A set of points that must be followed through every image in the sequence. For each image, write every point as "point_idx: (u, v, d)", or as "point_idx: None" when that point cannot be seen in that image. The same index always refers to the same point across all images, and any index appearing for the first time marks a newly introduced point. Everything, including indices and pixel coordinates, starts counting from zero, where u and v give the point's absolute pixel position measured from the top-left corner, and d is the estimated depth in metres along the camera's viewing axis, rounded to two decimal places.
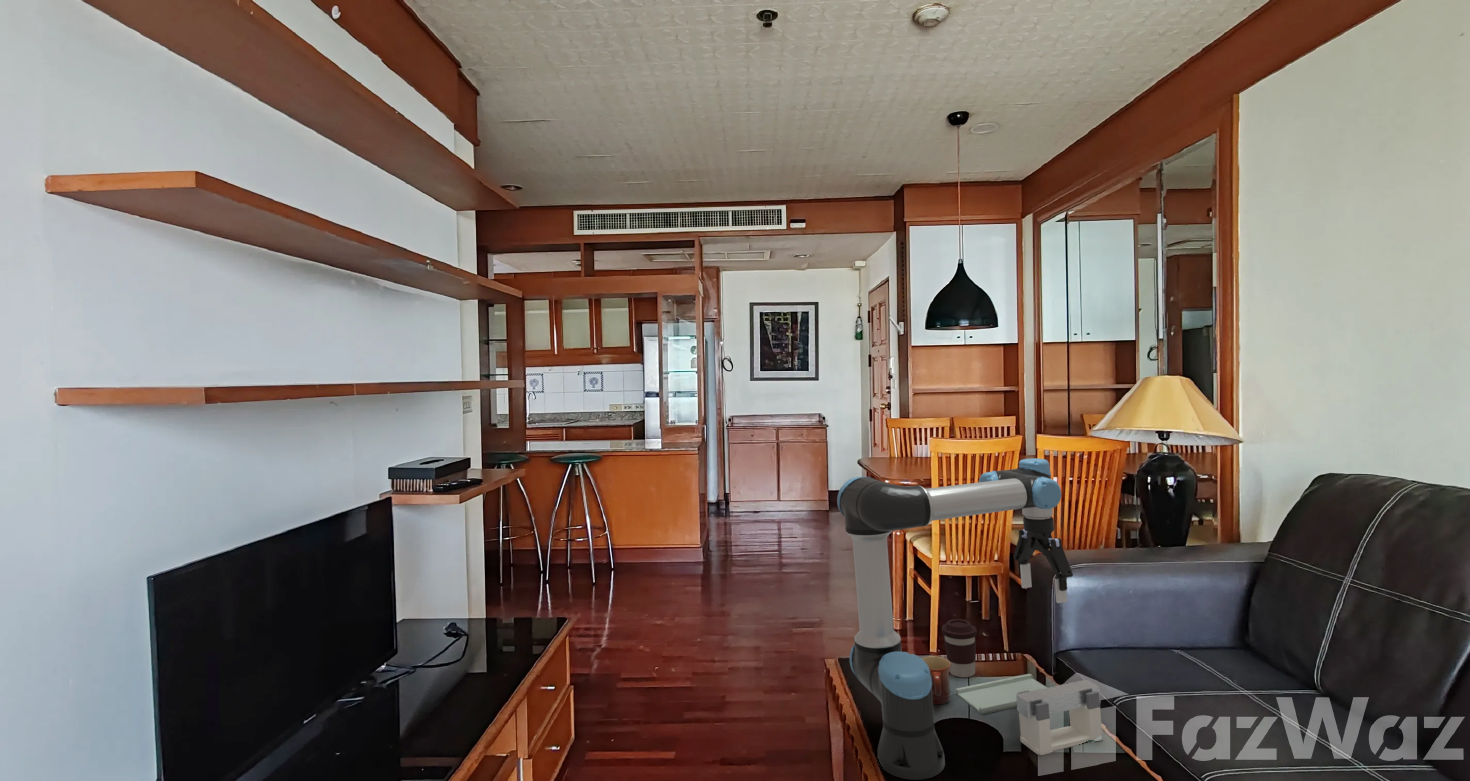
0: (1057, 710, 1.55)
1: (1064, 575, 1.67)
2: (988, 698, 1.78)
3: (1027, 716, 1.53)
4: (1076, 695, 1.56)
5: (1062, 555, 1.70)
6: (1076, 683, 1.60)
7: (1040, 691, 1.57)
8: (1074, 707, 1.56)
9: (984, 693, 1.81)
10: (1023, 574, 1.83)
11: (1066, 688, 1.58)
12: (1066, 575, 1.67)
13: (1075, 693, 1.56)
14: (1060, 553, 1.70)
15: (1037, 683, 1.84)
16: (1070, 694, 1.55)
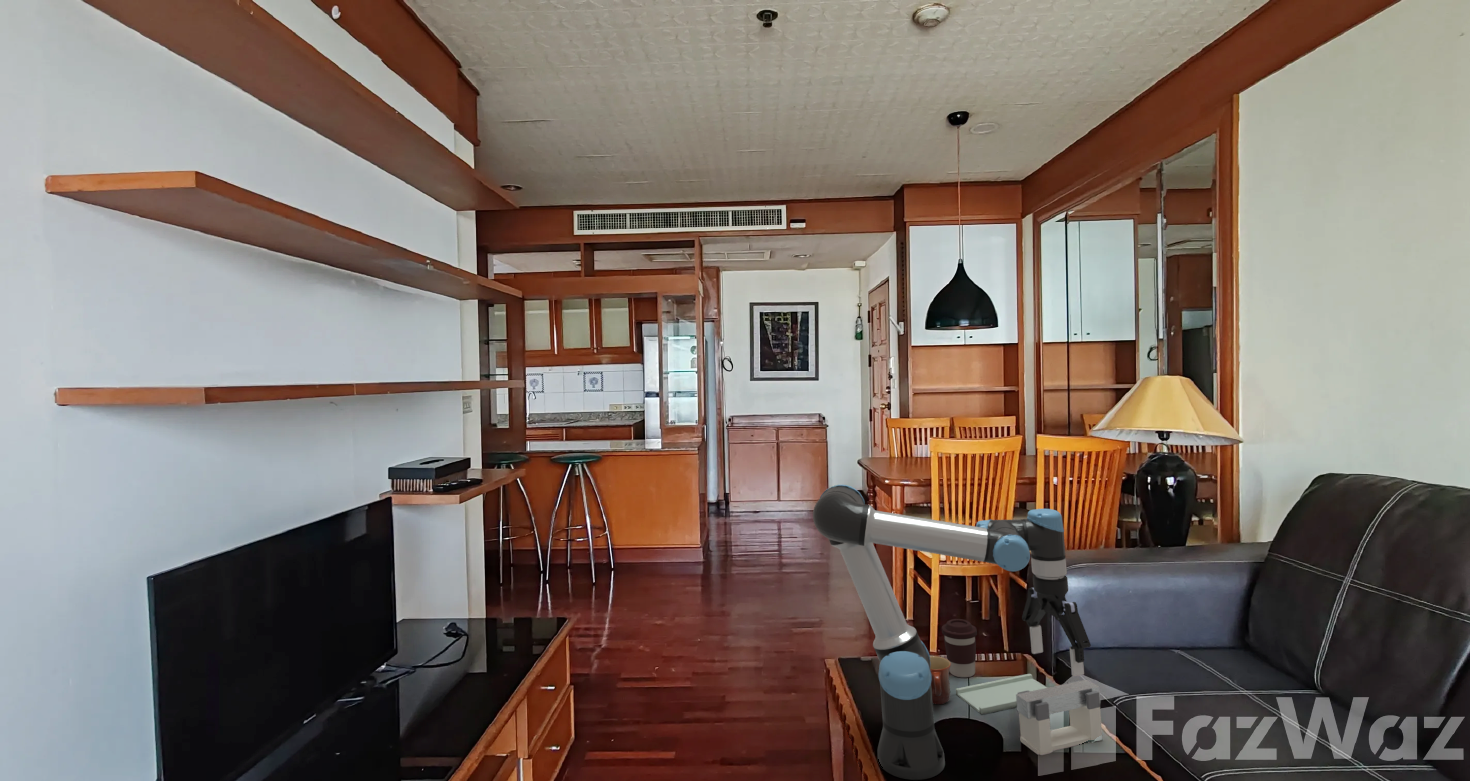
0: (1057, 710, 1.55)
1: (1081, 646, 1.47)
2: (988, 698, 1.78)
3: (1027, 716, 1.53)
4: (1076, 695, 1.56)
5: (1078, 622, 1.49)
6: (1076, 683, 1.60)
7: (1040, 691, 1.57)
8: (1074, 707, 1.56)
9: (984, 693, 1.81)
10: (1033, 638, 1.63)
11: (1066, 688, 1.58)
12: (1083, 646, 1.47)
13: (1075, 693, 1.56)
14: (1076, 619, 1.49)
15: (1037, 683, 1.84)
16: (1070, 694, 1.55)
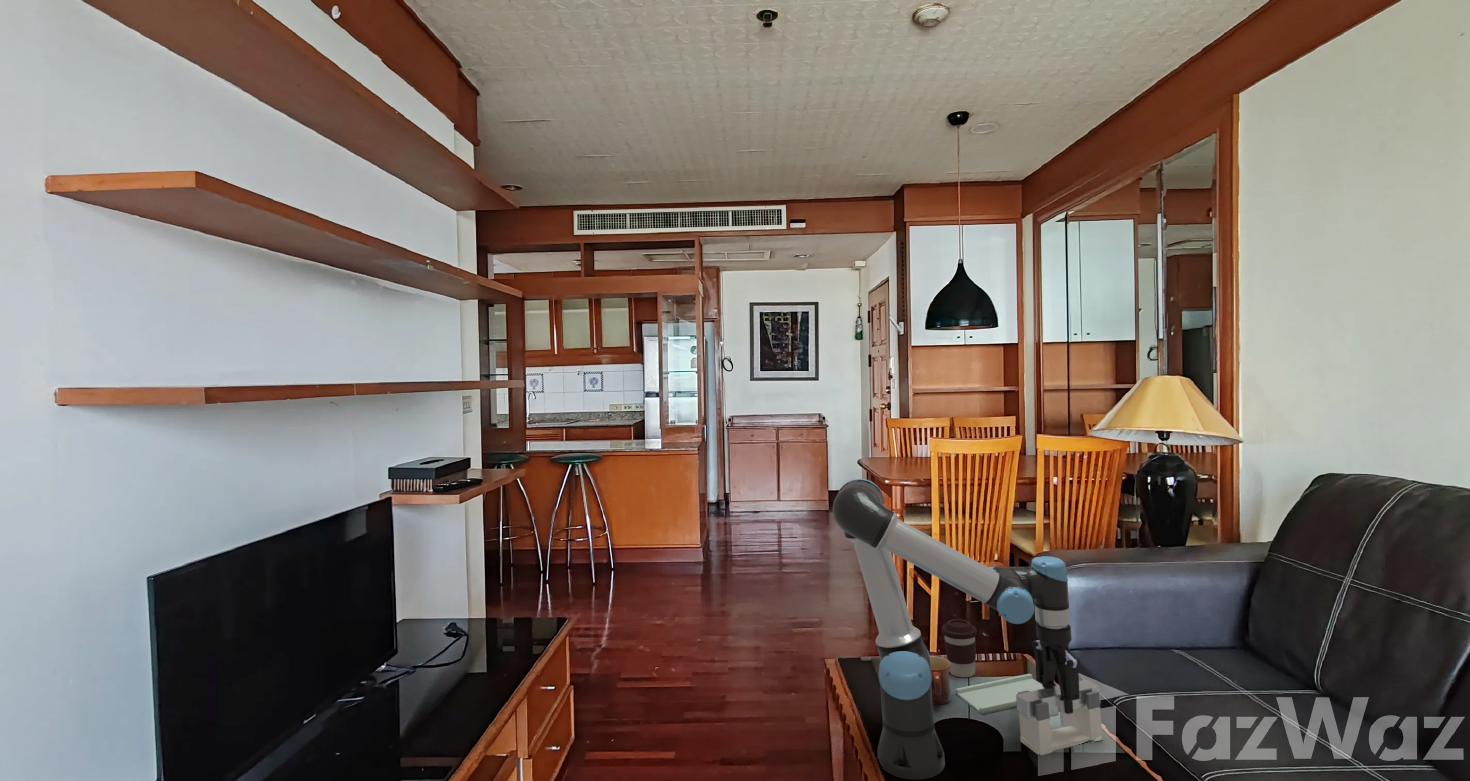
0: (1057, 710, 1.55)
1: (1070, 699, 1.51)
2: (988, 698, 1.78)
3: (1027, 716, 1.53)
4: None
5: (1075, 677, 1.51)
6: None
7: (1040, 691, 1.57)
8: (1074, 707, 1.56)
9: (984, 693, 1.81)
10: None
11: None
12: (1072, 698, 1.51)
13: None
14: (1074, 675, 1.51)
15: (1037, 683, 1.84)
16: None
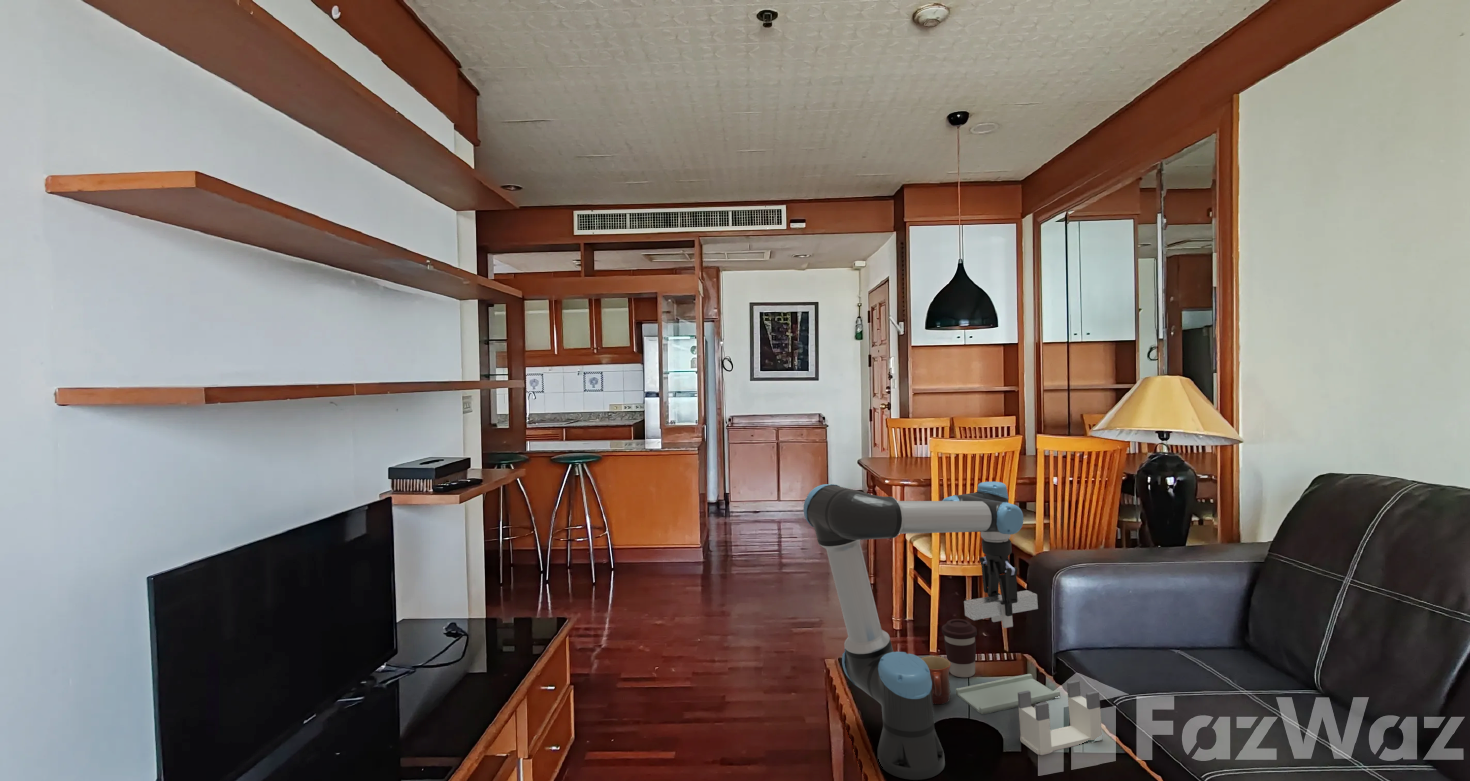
0: (999, 613, 1.77)
1: (1009, 602, 1.74)
2: (988, 698, 1.78)
3: (972, 618, 1.76)
4: None
5: (1013, 583, 1.74)
6: (1017, 592, 1.82)
7: (985, 598, 1.80)
8: (1014, 611, 1.78)
9: (984, 693, 1.81)
10: None
11: None
12: (1011, 601, 1.74)
13: None
14: (1012, 581, 1.74)
15: (1037, 683, 1.84)
16: None
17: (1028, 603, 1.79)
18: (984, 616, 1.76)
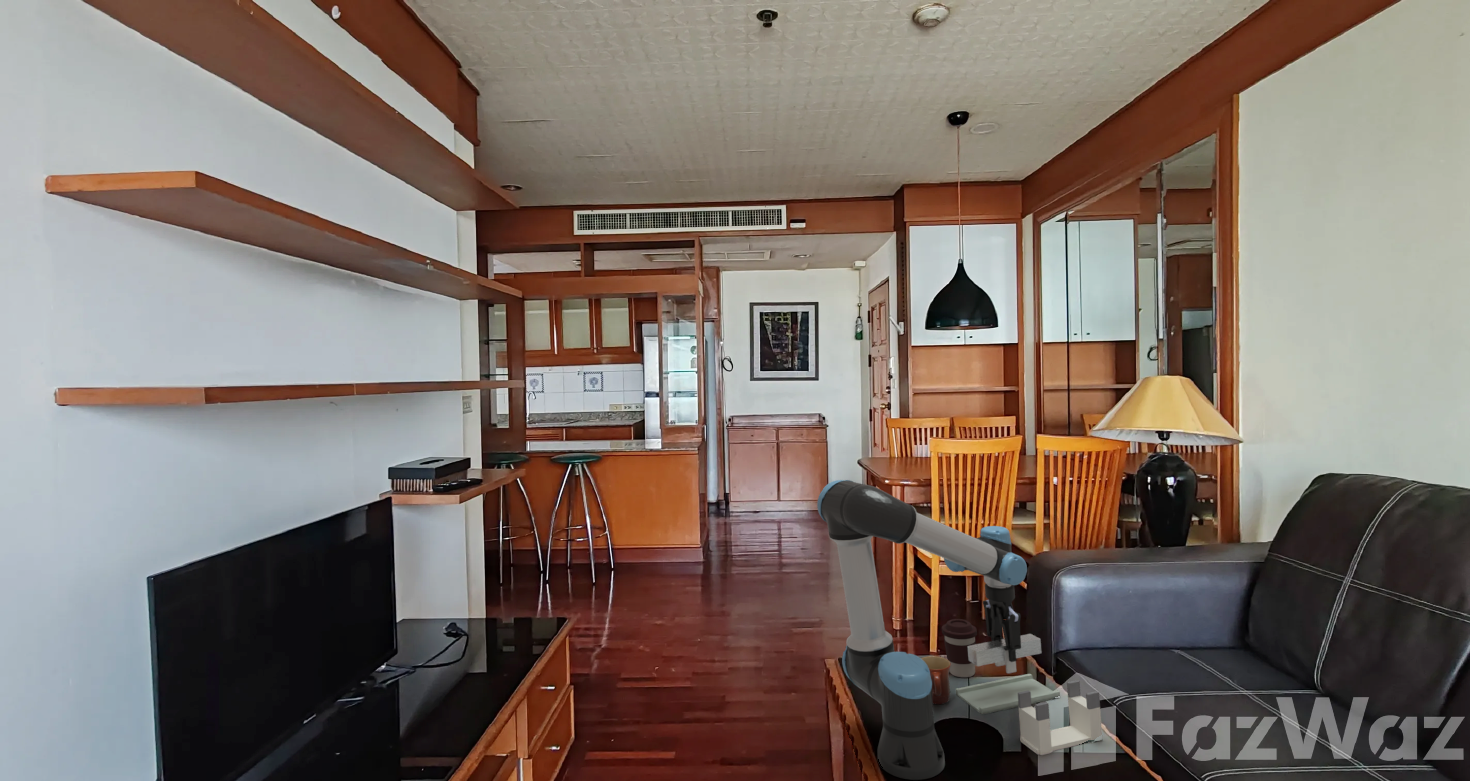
0: (1003, 659, 1.77)
1: (1012, 648, 1.74)
2: (988, 698, 1.78)
3: (976, 664, 1.76)
4: None
5: (1017, 630, 1.74)
6: (1021, 636, 1.83)
7: (988, 643, 1.80)
8: (1018, 656, 1.79)
9: (984, 693, 1.81)
10: None
11: None
12: (1014, 647, 1.74)
13: None
14: (1016, 628, 1.74)
15: (1037, 683, 1.84)
16: None
17: (1031, 647, 1.80)
18: (988, 662, 1.76)
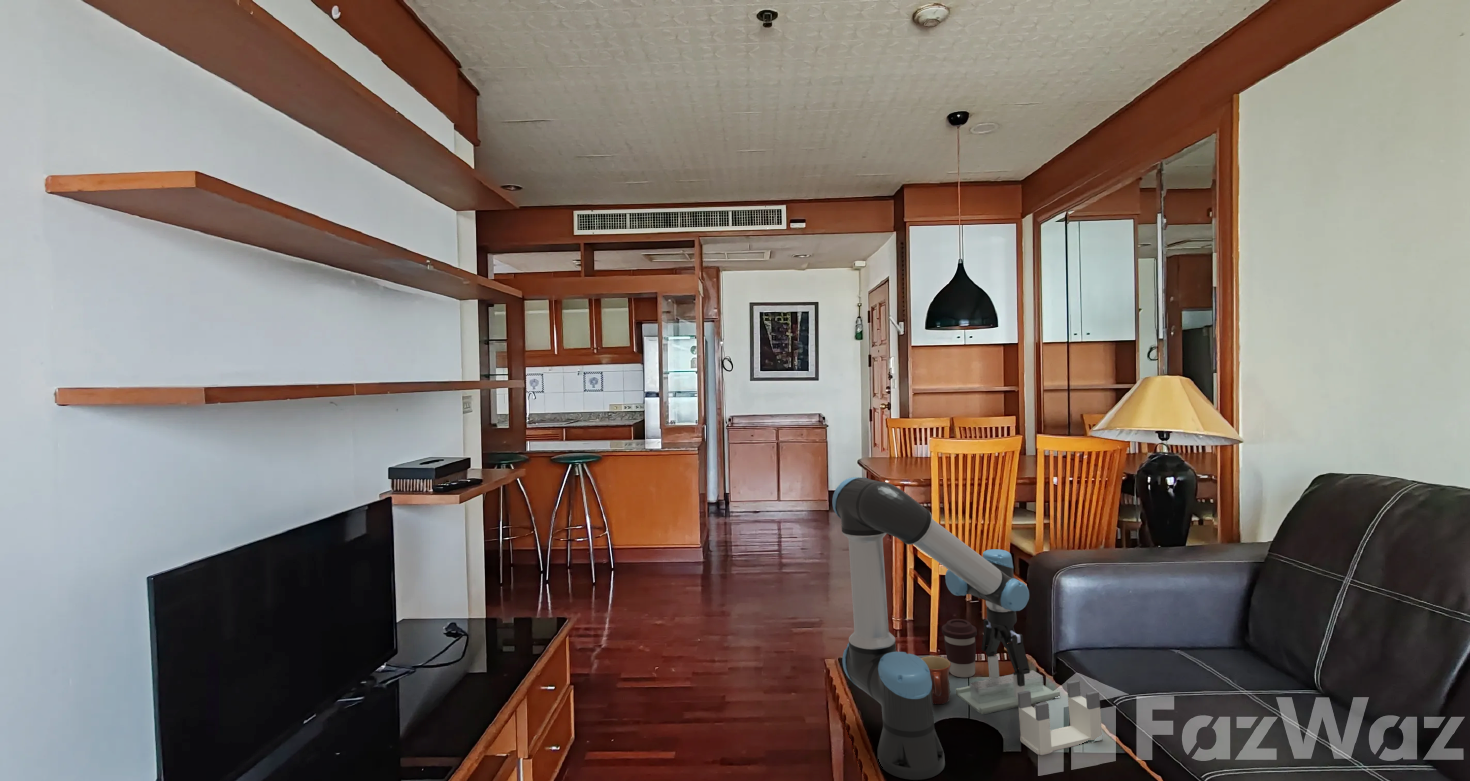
0: (1005, 696, 1.77)
1: (1021, 672, 1.71)
2: None
3: (978, 701, 1.76)
4: None
5: (1022, 651, 1.73)
6: None
7: (991, 680, 1.80)
8: None
9: None
10: (991, 666, 1.85)
11: None
12: (1023, 672, 1.71)
13: None
14: (1020, 649, 1.73)
15: None
16: None
17: (1034, 684, 1.80)
18: (990, 699, 1.76)
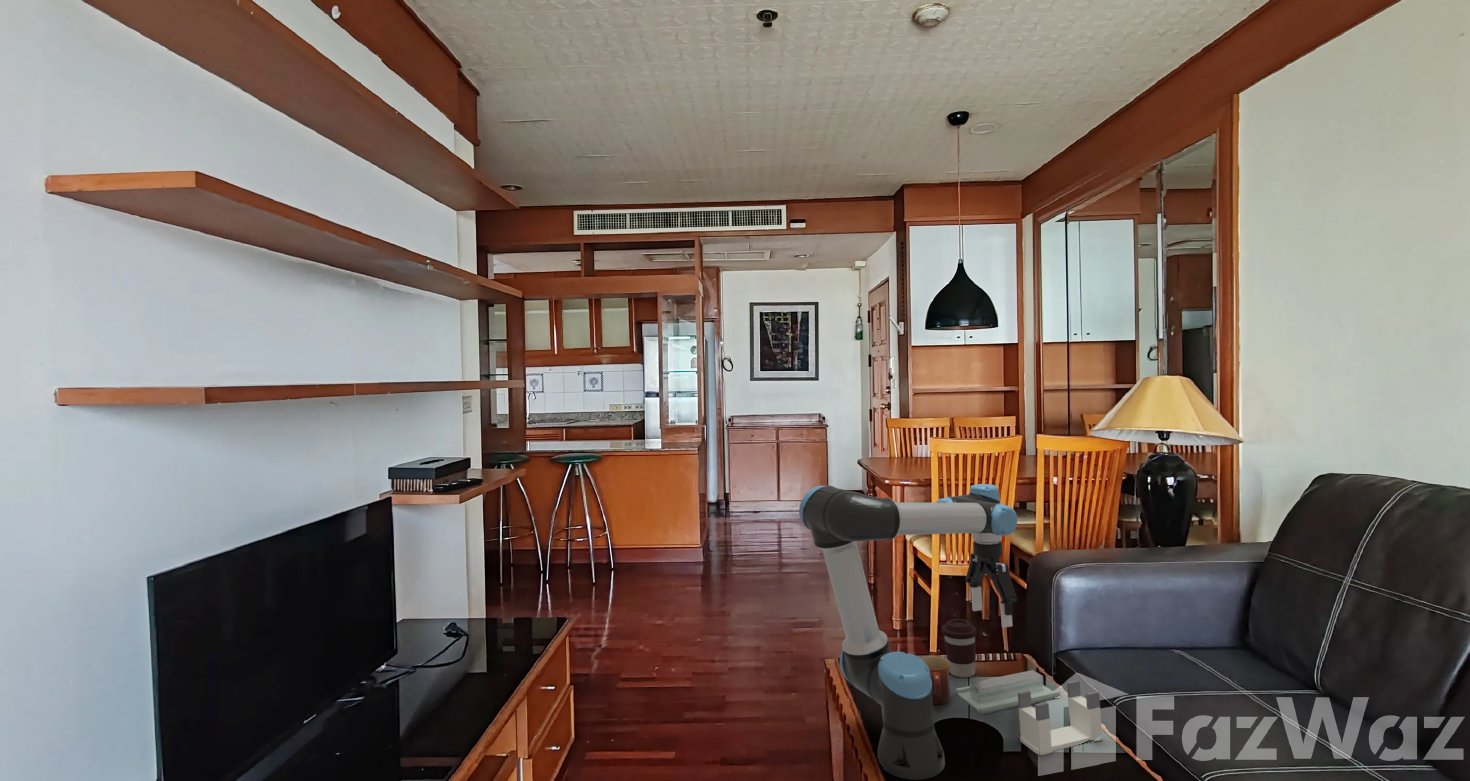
0: (1005, 696, 1.77)
1: (1009, 600, 1.71)
2: None
3: (978, 701, 1.76)
4: (1022, 683, 1.79)
5: (1008, 580, 1.73)
6: (1023, 673, 1.83)
7: (991, 680, 1.80)
8: None
9: None
10: (974, 597, 1.87)
11: (1014, 677, 1.80)
12: (1010, 600, 1.71)
13: (1021, 682, 1.79)
14: (1006, 578, 1.73)
15: None
16: (1016, 683, 1.78)
17: (1034, 684, 1.80)
18: (990, 699, 1.76)
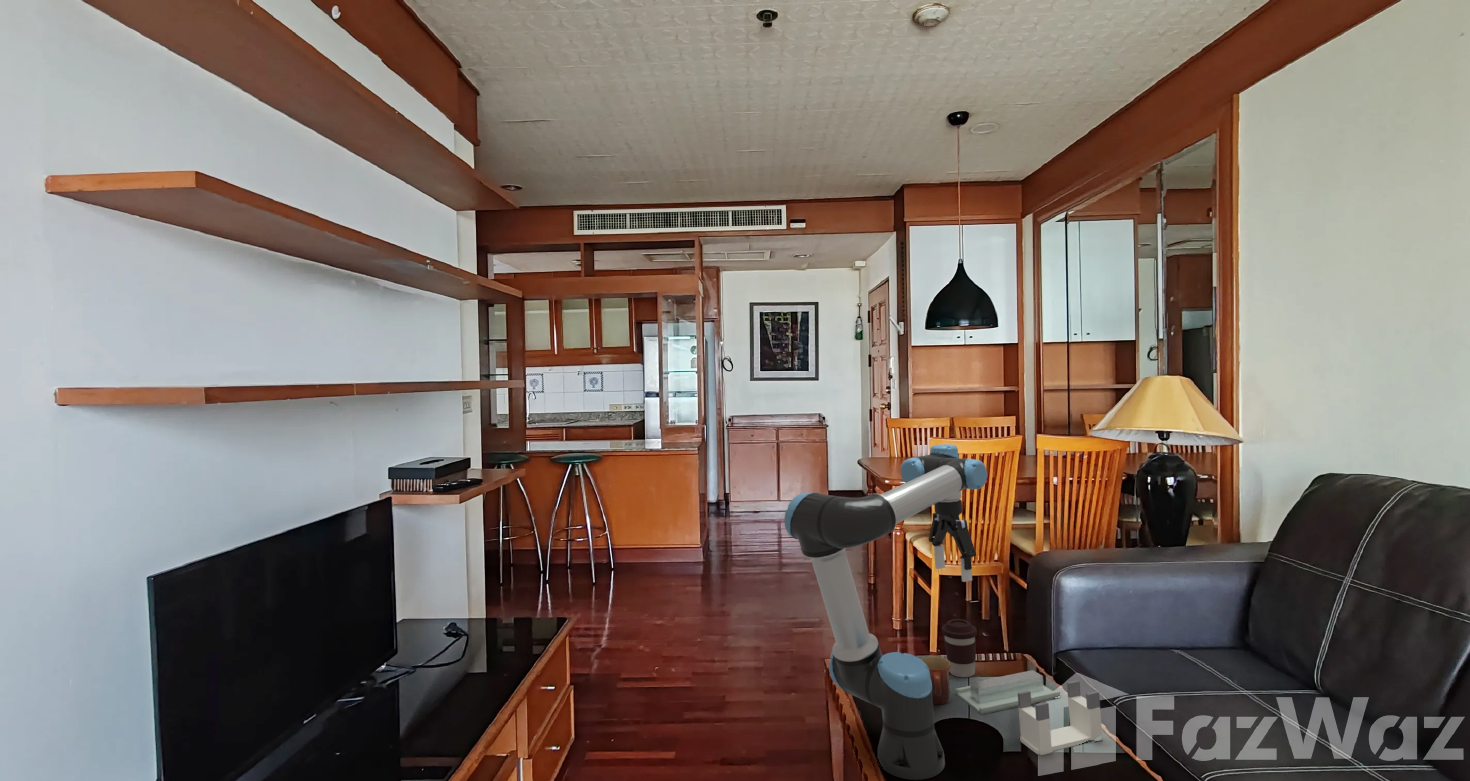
0: (1005, 696, 1.77)
1: (968, 555, 1.75)
2: None
3: (978, 701, 1.76)
4: (1022, 683, 1.79)
5: (967, 536, 1.78)
6: (1023, 673, 1.83)
7: (991, 680, 1.80)
8: None
9: None
10: (936, 555, 1.91)
11: (1014, 677, 1.80)
12: (969, 555, 1.75)
13: (1021, 682, 1.79)
14: (965, 534, 1.78)
15: None
16: (1016, 683, 1.78)
17: (1034, 684, 1.80)
18: (990, 699, 1.76)
